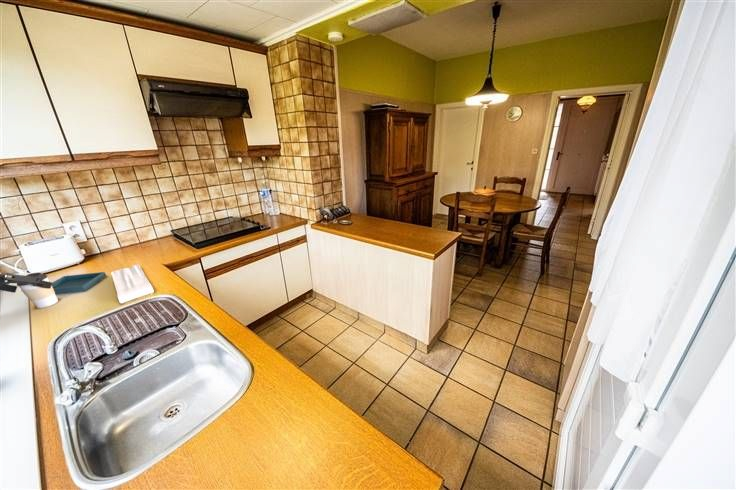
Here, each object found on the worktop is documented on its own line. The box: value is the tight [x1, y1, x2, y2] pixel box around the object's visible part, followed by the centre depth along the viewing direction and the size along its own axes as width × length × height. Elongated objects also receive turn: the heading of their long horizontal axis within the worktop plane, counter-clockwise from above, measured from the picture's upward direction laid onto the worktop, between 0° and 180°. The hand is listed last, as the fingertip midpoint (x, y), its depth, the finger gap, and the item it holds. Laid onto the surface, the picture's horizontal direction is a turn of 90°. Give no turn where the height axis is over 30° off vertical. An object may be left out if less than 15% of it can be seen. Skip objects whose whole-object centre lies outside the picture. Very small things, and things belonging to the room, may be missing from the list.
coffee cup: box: [16, 272, 59, 309], centre depth 119 cm, size 9×9×15 cm
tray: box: [52, 271, 108, 296], centre depth 136 cm, size 20×15×3 cm
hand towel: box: [110, 263, 155, 305], centre depth 134 cm, size 12×4×40 cm
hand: (33, 287), depth 117 cm, fingers open, 13 cm apart
